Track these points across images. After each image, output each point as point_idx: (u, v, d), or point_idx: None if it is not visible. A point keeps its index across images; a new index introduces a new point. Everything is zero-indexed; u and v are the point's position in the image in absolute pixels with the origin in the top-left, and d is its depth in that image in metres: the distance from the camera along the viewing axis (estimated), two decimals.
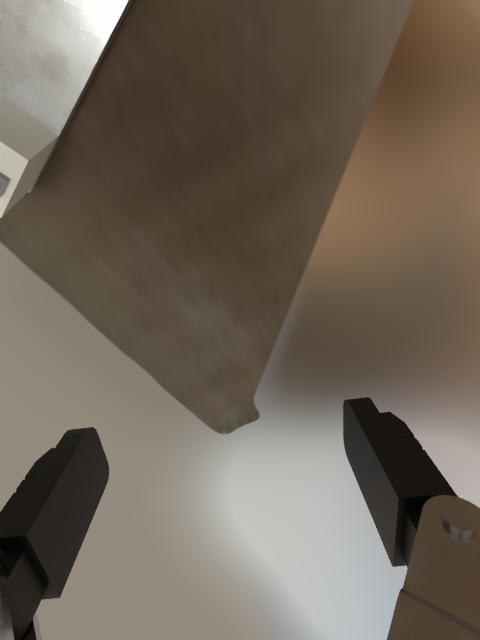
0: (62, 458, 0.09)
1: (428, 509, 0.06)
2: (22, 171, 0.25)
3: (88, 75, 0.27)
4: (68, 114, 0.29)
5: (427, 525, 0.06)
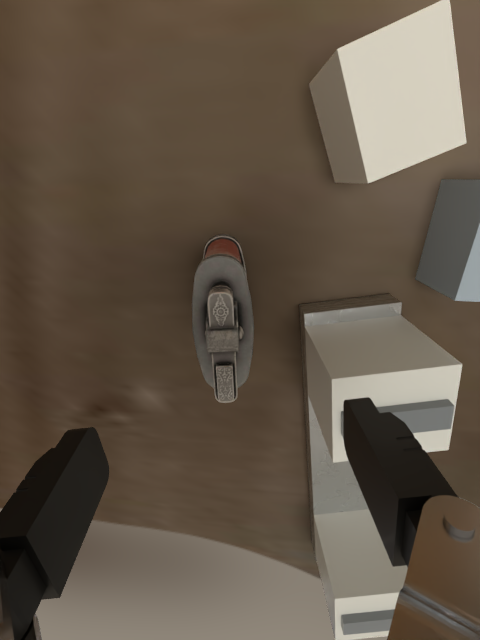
0: (62, 458, 0.09)
1: (428, 509, 0.06)
2: None
3: None
4: None
5: (427, 525, 0.06)
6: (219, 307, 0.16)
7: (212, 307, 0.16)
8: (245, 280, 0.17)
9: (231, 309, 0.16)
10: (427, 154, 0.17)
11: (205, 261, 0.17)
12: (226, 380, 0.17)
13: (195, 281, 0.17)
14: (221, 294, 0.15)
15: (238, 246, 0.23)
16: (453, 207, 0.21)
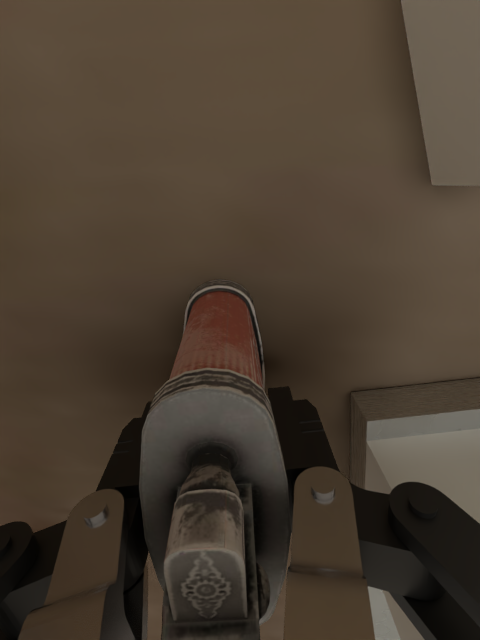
0: None
1: (299, 485, 0.07)
2: None
3: None
4: None
5: (296, 490, 0.07)
6: (201, 581, 0.05)
7: (180, 581, 0.05)
8: (274, 441, 0.07)
9: (240, 584, 0.05)
10: None
11: (168, 399, 0.06)
12: None
13: (144, 444, 0.07)
14: (206, 553, 0.05)
15: (248, 304, 0.13)
16: None
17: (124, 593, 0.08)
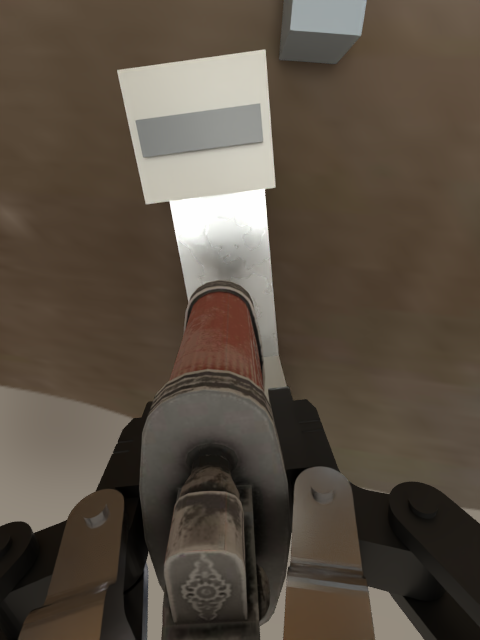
0: None
1: (299, 485, 0.07)
2: None
3: (272, 293, 0.27)
4: (275, 334, 0.29)
5: (296, 490, 0.07)
6: (202, 583, 0.05)
7: (180, 583, 0.05)
8: (274, 442, 0.07)
9: (240, 586, 0.05)
10: None
11: (168, 401, 0.06)
12: None
13: (144, 445, 0.07)
14: (206, 555, 0.05)
15: (249, 304, 0.13)
16: None
17: (124, 593, 0.08)
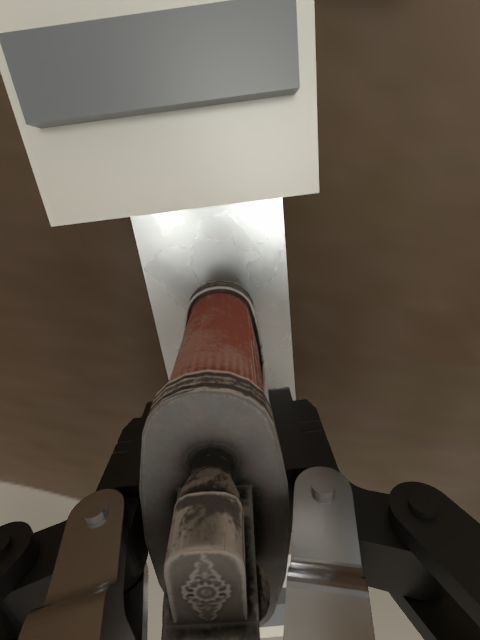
0: None
1: (299, 485, 0.07)
2: None
3: (290, 349, 0.18)
4: None
5: (296, 490, 0.07)
6: (201, 583, 0.05)
7: (180, 583, 0.05)
8: (274, 443, 0.07)
9: (240, 587, 0.05)
10: None
11: (168, 401, 0.06)
12: None
13: (144, 446, 0.07)
14: (206, 557, 0.05)
15: (249, 304, 0.13)
16: None
17: (124, 593, 0.08)
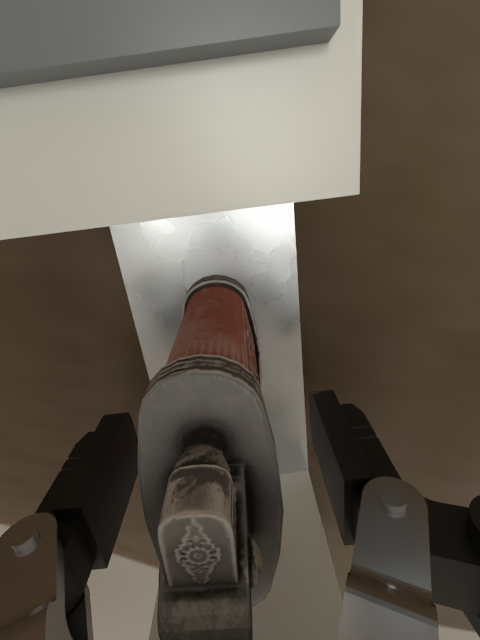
0: (103, 439, 0.10)
1: (367, 492, 0.07)
2: None
3: (301, 378, 0.15)
4: (304, 440, 0.17)
5: (365, 502, 0.07)
6: (193, 547, 0.05)
7: (173, 547, 0.05)
8: (263, 422, 0.07)
9: (230, 550, 0.05)
10: None
11: (162, 383, 0.07)
12: None
13: (141, 426, 0.07)
14: (196, 520, 0.05)
15: (244, 297, 0.13)
16: None
17: None
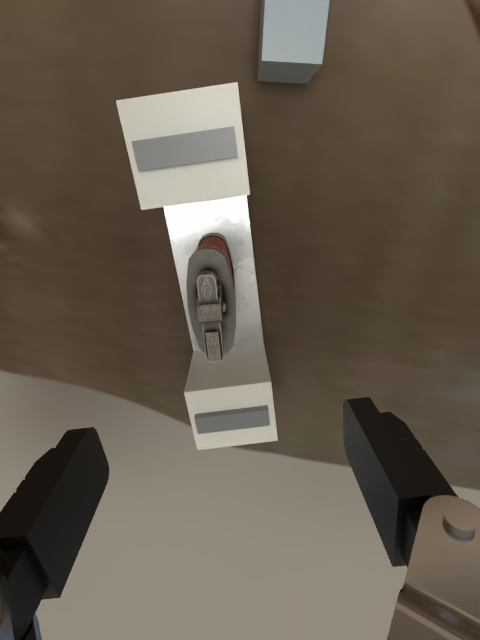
0: (62, 458, 0.09)
1: (428, 509, 0.06)
2: (271, 393, 0.27)
3: (256, 286, 0.31)
4: (260, 323, 0.32)
5: (427, 525, 0.06)
6: (205, 286, 0.21)
7: (200, 286, 0.21)
8: (226, 266, 0.22)
9: (215, 288, 0.21)
10: None
11: (195, 253, 0.22)
12: (214, 344, 0.22)
13: (188, 268, 0.22)
14: (206, 277, 0.21)
15: (225, 242, 0.28)
16: None
17: None
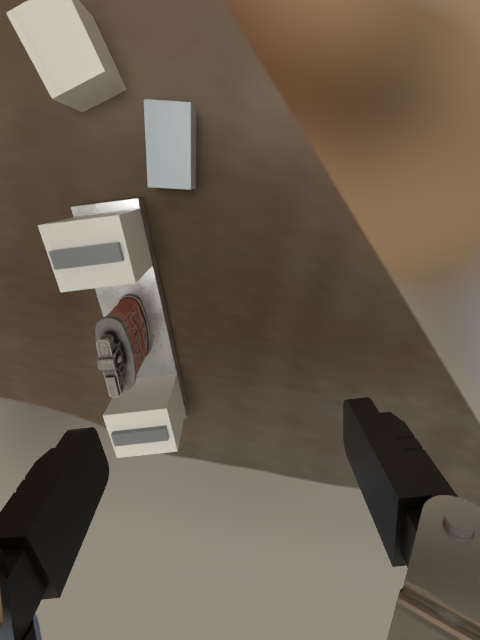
0: (62, 458, 0.09)
1: (428, 509, 0.06)
2: (168, 416, 0.36)
3: (166, 332, 0.40)
4: (172, 359, 0.42)
5: (427, 525, 0.06)
6: (102, 347, 0.30)
7: (99, 347, 0.30)
8: (123, 330, 0.32)
9: (109, 348, 0.30)
10: (83, 78, 0.27)
11: (100, 321, 0.31)
12: (112, 385, 0.31)
13: (96, 331, 0.32)
14: (102, 341, 0.30)
15: (138, 301, 0.38)
16: None
17: None
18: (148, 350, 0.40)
